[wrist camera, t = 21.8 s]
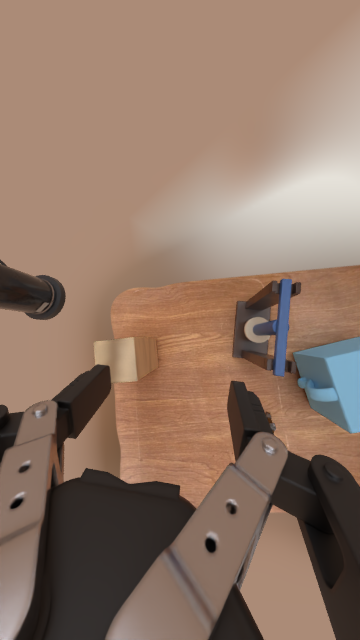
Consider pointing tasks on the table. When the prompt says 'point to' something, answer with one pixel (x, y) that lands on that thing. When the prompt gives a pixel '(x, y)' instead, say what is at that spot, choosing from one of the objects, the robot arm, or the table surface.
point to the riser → (127, 357)
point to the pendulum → (274, 328)
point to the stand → (261, 308)
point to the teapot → (333, 381)
